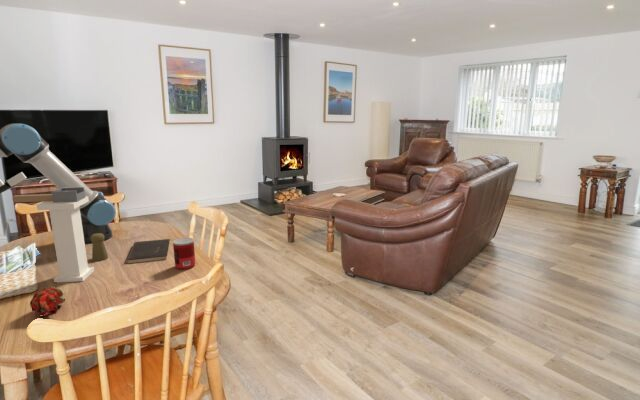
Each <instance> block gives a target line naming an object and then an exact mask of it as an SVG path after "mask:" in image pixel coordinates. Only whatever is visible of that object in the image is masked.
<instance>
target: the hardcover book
mask: <svg viewBox="0 0 640 400" xmlns="http://www.w3.org/2000/svg"><path fill="white" fill-rule="evenodd" d="M170 242H171V238H165V239H164V238H163V239H154V240H145V241H142V240H141V241H135V242H134V243H133V245H132V247H131V249H130V251H129V253H128V256H127V258H126V259H125V260H126V264H133V263H143V262H151V261H152V262H153V261H159V260H160V261H161V260H167V259H168V254H169V249H170V244H171V243H170Z"/></svg>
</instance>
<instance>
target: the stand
mask: <svg viewBox="0 0 640 400" xmlns="http://www.w3.org/2000/svg"><path fill="white" fill-rule="evenodd" d="M87 202H89V199H88V196H85V198H84V199H82V200H80V201H78V202H53V201H41V202H38V203H37V204H36V209H37V211H47V210H49V217H50V222H51V229H52V236H53V242H54V248H55V253H56V254H55V255H56V260H57V261H56V262H57V266H58V267H57V268H58V275H57V276H55V277H54V278H53V283H54V282H57V283H73V282H84V281H85V280H86V279H87V278H88V277H90V275H92V274H93V272H95V266H89V263H88V259H87V258H88V256H87V250H86V243H85V242H84V235H83V228H82V221H81V214H80V207H79V206H81V205H83V204H85V203H87Z"/></svg>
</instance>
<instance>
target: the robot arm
mask: <svg viewBox="0 0 640 400" xmlns="http://www.w3.org/2000/svg"><path fill="white" fill-rule="evenodd" d="M49 148H50V145H49V143H48V142H47V141H46V140H45V139H43V137H42V136H41V135H40V133H39V132H38V131H37V129H35V128H34V127H33V126H30V125H28V124H27V123H26V124H25V123H17V122H14V123H8V124H5V125H4V126H3V127H1V128H0V159H1V158H8V157H10V156H12V155H13V154H14V156H15V157H17V158H18V159H19V160H20V161H21V162H22V163H24V164H25V163H26V164H27V163H28V164H31V165H32V166H33V167H34V168H35V169H36V170H37V171H38V172H39V173H41V174H42V175H43V176H44V177H46V179H47V180H48V181H50V183H52V184H53V185H54V186H55V187H56V188H57V189H59V188H70V187H84V191H85V196H88V199H89V202H87V203H85V204H83V205H81V206H79V207H80V214H81V221H82V228H83V235H84V242H85V244H88V243H89V244H91V243H93V242H92V241H91V239H90V238H91V235H93V234H96V233H102V234H103V235H104V241H107V240H109V239H111V238H112V237H113V231H112V229H111V227H110V225H109V224H110V223H111V222H112V221H113V220H114V219H115V217H116V215H117V211H116V207H115V206H114V204H113V203H112V202H110V201H109V200H108V199H106V198H105V195H104V193H103V192H102V191H98V190H92V189H91V188H90V187H89V186H88V185H86V184H85V182H83V180H81V179H80V178H79V177H78V176H77V175H76V174H75V173H74V172H73V171H72V170H71V169H70V168H68V167H67V166H66V164H64V163H63V162H62V161H61V160H60V159H59V158H58V157H57V156H56V155H55V154H54V153H53V152H51V150H50V149H49ZM26 179H27V176H26V175H25V173H24V172H23V171H21V172H19V173H17V174H16V175H14V176H12V177H10V178H9V179H8V178H6V179H5V182H3V181H2V179H1V178H0V194H2V193H4V192H6V191H9V190H10V189H12V188H14V187H15V185H17V184H19V183H21V182H23V181H24V180H26Z"/></svg>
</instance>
